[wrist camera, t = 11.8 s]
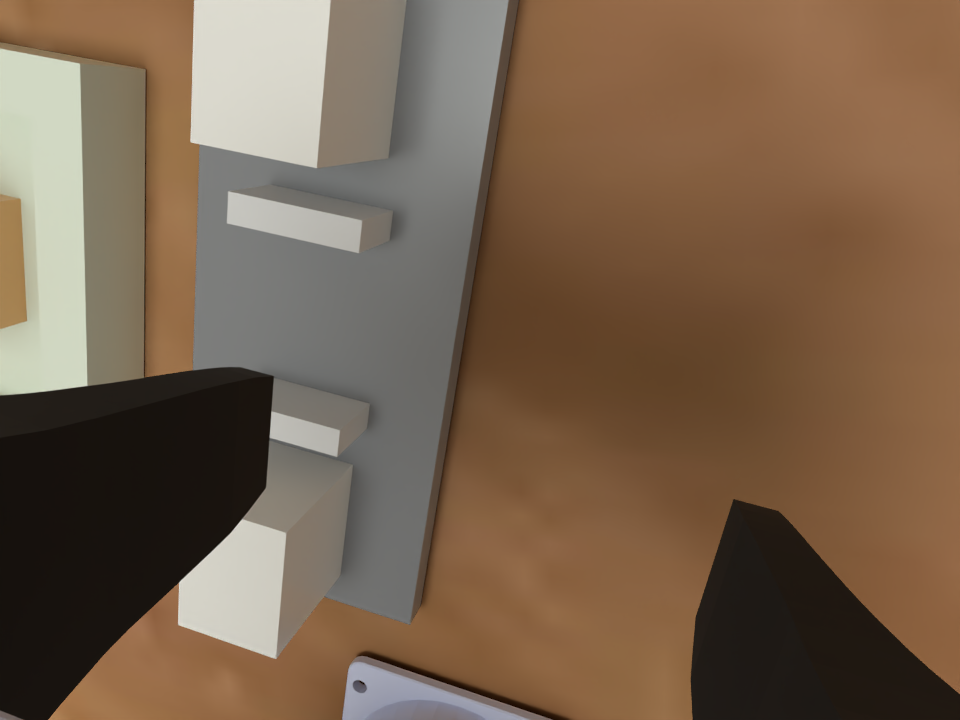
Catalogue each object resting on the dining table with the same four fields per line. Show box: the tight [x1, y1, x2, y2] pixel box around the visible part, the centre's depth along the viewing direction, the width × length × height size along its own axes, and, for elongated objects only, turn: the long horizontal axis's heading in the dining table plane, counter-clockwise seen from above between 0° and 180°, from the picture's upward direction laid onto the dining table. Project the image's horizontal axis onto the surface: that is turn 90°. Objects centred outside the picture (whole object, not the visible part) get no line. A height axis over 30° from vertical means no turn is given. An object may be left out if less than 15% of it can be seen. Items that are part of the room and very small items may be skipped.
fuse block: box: [178, 0, 519, 659], centre depth 20 cm, size 19×8×5 cm, turn 171°
